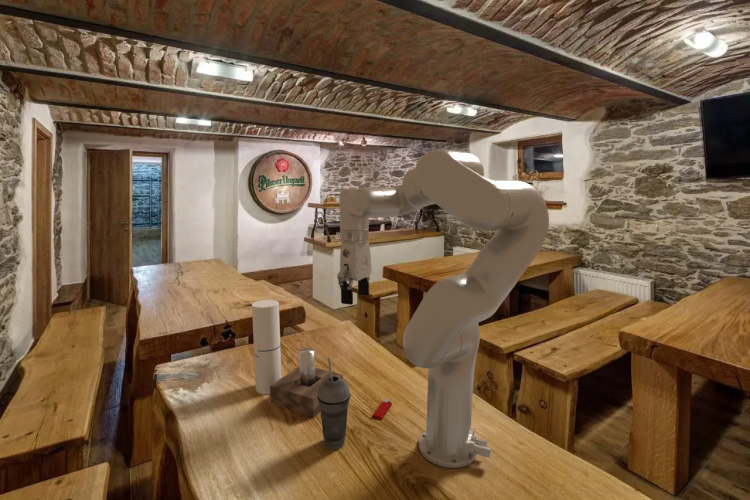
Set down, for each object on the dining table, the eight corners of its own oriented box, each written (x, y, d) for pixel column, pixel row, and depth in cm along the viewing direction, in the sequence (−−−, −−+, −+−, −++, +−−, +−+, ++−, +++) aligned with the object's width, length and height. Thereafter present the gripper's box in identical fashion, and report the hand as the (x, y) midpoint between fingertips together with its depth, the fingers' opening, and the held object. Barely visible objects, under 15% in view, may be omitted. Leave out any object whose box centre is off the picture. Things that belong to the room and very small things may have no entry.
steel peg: (318, 390, 105) (317, 349, 103) (309, 397, 101) (308, 354, 99) (306, 386, 106) (305, 346, 104) (297, 393, 103) (296, 351, 101)
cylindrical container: (274, 395, 105) (271, 308, 101) (251, 392, 106) (246, 306, 102) (285, 382, 112) (283, 300, 108) (263, 380, 113) (260, 299, 109)
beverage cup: (337, 458, 80) (336, 370, 77) (311, 446, 84) (309, 361, 81) (357, 439, 86) (356, 356, 83) (331, 428, 90) (330, 349, 87)
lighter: (371, 414, 95) (383, 398, 102) (371, 419, 95) (383, 402, 102) (382, 417, 94) (393, 400, 101) (382, 421, 94) (393, 405, 101)
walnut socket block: (343, 391, 107) (342, 374, 106) (313, 417, 95) (313, 398, 94) (303, 379, 113) (302, 364, 112) (270, 403, 101) (269, 385, 100)
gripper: (351, 240, 90) (353, 309, 93) (380, 233, 106) (381, 293, 109) (325, 239, 94) (327, 306, 96) (356, 232, 109) (357, 290, 112)
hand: (355, 299), depth 102 cm, fingers open, 9 cm apart
